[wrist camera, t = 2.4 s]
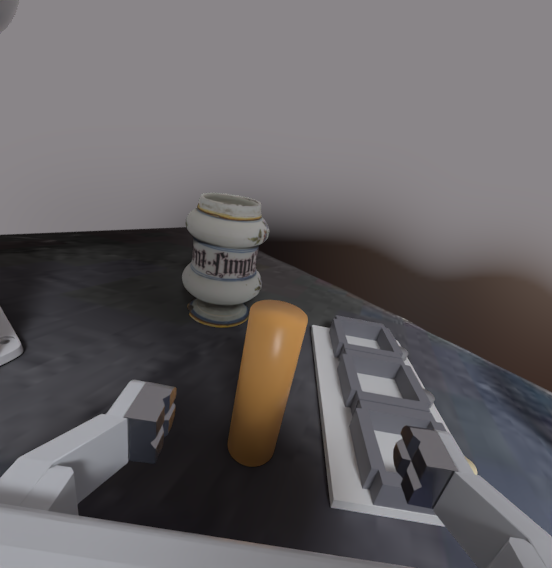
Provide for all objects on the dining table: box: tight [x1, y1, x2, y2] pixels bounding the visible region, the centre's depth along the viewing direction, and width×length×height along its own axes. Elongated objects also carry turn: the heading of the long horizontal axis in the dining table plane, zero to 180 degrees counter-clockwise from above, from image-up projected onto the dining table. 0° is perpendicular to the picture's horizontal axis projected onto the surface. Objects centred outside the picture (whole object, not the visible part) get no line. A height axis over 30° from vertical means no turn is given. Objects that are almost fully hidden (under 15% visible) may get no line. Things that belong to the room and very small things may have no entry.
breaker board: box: [311, 315, 477, 527], centre depth 37 cm, size 27×14×4 cm, turn 177°
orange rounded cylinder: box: [227, 300, 308, 467], centre depth 26 cm, size 4×4×14 cm
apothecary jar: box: [182, 193, 269, 328], centre depth 46 cm, size 12×12×18 cm
